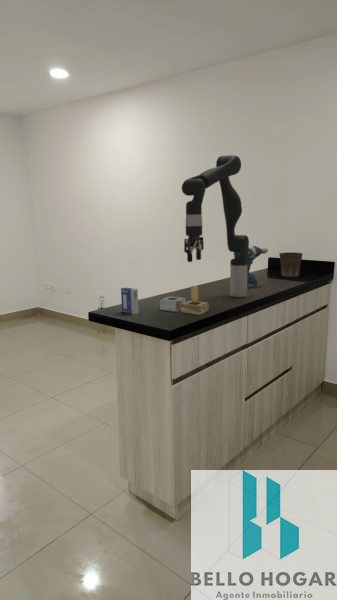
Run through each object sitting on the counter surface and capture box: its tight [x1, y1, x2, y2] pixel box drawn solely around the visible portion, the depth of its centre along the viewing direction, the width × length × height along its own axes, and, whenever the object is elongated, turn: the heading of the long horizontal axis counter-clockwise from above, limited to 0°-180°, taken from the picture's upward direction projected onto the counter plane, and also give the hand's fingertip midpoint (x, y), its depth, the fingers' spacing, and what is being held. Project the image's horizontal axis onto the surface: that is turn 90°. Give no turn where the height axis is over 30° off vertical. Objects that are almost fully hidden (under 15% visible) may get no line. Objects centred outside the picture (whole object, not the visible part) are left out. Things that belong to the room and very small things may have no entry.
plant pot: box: [278, 252, 303, 278], centre depth 291 cm, size 16×16×16 cm
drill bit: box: [190, 285, 199, 305], centre depth 193 cm, size 3×3×12 cm
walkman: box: [120, 287, 139, 315], centre depth 193 cm, size 8×3×12 cm, turn 56°
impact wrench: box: [233, 245, 268, 289], centre depth 252 cm, size 8×23×25 cm, turn 112°
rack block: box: [180, 300, 210, 316], centre depth 194 cm, size 9×10×4 cm
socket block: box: [159, 296, 187, 313], centre depth 200 cm, size 9×9×5 cm
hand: (194, 260), depth 189 cm, fingers open, 8 cm apart
